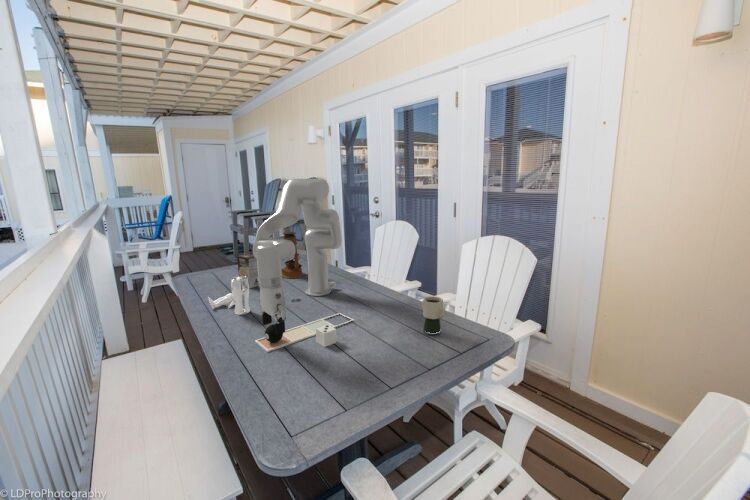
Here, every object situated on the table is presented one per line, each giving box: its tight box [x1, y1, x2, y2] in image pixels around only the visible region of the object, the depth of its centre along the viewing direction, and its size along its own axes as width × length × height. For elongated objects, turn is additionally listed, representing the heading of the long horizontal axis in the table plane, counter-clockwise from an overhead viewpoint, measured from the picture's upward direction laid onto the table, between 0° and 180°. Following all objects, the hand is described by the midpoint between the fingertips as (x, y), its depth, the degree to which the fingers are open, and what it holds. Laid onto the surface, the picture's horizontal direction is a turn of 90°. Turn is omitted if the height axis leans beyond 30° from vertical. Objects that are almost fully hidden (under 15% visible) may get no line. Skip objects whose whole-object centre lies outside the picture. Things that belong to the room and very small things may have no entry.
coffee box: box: [236, 253, 259, 289], centre depth 179 cm, size 9×6×16 cm
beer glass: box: [230, 275, 251, 316], centre depth 144 cm, size 7×7×15 cm
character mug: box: [421, 295, 446, 333], centre depth 126 cm, size 11×7×13 cm, turn 37°
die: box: [315, 325, 337, 348], centre depth 119 cm, size 5×5×5 cm
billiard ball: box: [264, 323, 283, 343], centre depth 119 cm, size 6×6×6 cm
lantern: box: [281, 229, 304, 279], centre depth 196 cm, size 17×13×30 cm
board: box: [254, 312, 355, 353], centre depth 128 cm, size 37×10×1 cm, turn 132°
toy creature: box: [207, 292, 235, 310], centre depth 153 cm, size 12×6×12 cm
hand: (273, 328), depth 119 cm, fingers open, 9 cm apart
